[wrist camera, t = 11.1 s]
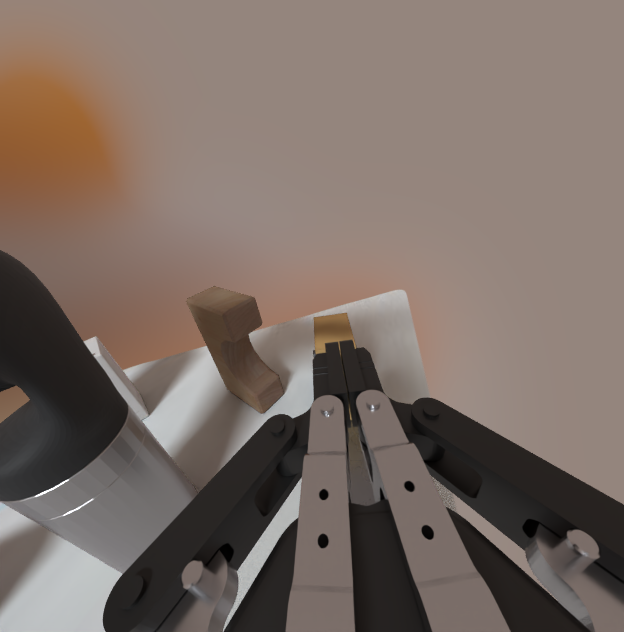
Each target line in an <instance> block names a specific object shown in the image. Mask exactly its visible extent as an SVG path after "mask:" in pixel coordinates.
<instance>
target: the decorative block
mask: <svg viewBox="0 0 624 632" xmlns="http://www.w3.org/2000/svg"><path fill="white" fill-rule="evenodd" d="M186 302H187V305H188V307H189V309H190V311H191V313H192V315H193V317H194V319H195V322H196V323H197V326H198V328H199V330H200V332H201V334H202V336H203V338H204V341H205V343H206V345H207V347H208V349H209V351H210V353H211V356H212V358H213V360H214V362H215V364H216V366H217V368H218V371H219V373H220V375H221V377H222V379H223V381H224V383H225V385H226V387H227V389H228V390H229V391H231V392H232V393H233V394H235V395H236V396H237V397H239V398H240V399H241V400H243V401H244V402H246V403H247V404H248V405H250V406H251V407H253V408H254V409H255V410H257V411H258V412H260V413H261V414H262V413H264V412H265V411H267V410H268V409H269V408H270V407H271V406H272V405H273V404H274V403H275V402H276V401H277V400H278V399H279V398H280V397H281V396H282V395H283V394H284V391H283V388H282V385H281V381H280V378H279V375H278V374H276V373H275V372H273V371H272V370H271V369H269V368H268V366H267V365H266V364H265V363H264V362H263V361H262V360H261V359H260V357H259V356H258V355H257V353H256V352H255V351H254V349H253V347H252V344H251V342H250V339H249V335H248V334H249V333H251V332H252V331H253V330H255V329H256V328H258V327H260V326H261V325H262V320H261V317H260V313H259V310H258V307H257V303H256V300H255V298H254V297H252V296H248V295H244V294H241V293H236V292H233V291H230V290H226V289H223V288H219V287H216V286H213V287H211V288H209V289H207V290H205V291H203V292H200V293H198V294H196V295H194V296H192V297H190V298H187V301H186Z"/></svg>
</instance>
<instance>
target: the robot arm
mask: <svg viewBox="0 0 624 632" xmlns="http://www.w3.org/2000/svg"><path fill="white" fill-rule="evenodd" d="M339 345H340V350H339ZM325 350H326V353H319V354H316V356H315V358H314V359H313V385H314V401H313V404H312V406H311V408H310V409H309V410H308V411H307V412H305V413H304V414H302V415H300V416H298V417H295V418H293V419H292V418H291V417H290V416H288V415H285V414H279V415H275V416H273V417H271V418H270V419H268V420H267V421H266V422H265V423H264V424H263V425H262V426H261V427H260V429H259V430H258V431H257V432H256V433H255V434H254V435H253V436H252V437H251V438H250V439H249V440H248V441H247V442H246V443H245V445H244V446H243V447H242V448H241V449H240V450H239V451H238V452H237V453H236V454H235V455H234V456H233V457H232V458H231V459H230V460H229V462H228V463H227V464H226V465H225V466H224V467H223V468H222V469H221V470H220V471H219V472H218V473H217V474H216V475H215V476H214V478H213V479H212V480H211V481H210V482H209V483H208V484H207V485H206V486H205V487H204V488H203V489H202V490H201V491H200V492H199V493H198V492H197V490H196V489H195V488H194V486H193V485H192V484H191V482H190V481H189V480H188V479H187V477H186V476H185V475H184V473H183V472H182V471H181V470H180V468H179V467H178V466H177V465H176V463H175V462H174V461H173V460H172V458H171V457H170V456H169V455H168V453H167V452H166V451H165V450H164V448H163V447H162V446H161V444H160V443H159V442H158V441H157V439H156V438H155V437H154V436H153V434H152V433H151V432H150V431H149V429H148V428H147V427H146V426H145V424H144V423H143V422H142V421H141V420H140V418H139V417H138V416H137V415H136V413H135V412H134V411H133V410H132V408H131V407H130V406H129V405H128V403H127V402H126V401H125V399H124V398H123V397H122V396H121V394H120V393H119V392H118V390H117V389H116V387H115V386H114V384H113V383H112V381H111V379H110V378H109V376H108V375H107V373H106V372H105V370H104V369H103V368H102V366H101V365H100V364H99V362H98V361H97V360H96V358H95V357H94V356H93V354H92V353H91V352H90V350H89V349H88V347H87V346H86V345H85V343H84V342H83V340H82V339H81V337H80V336H79V334H78V333H77V331H76V330H75V328H74V327H73V325H72V324H71V323H70V321H69V319H68V318H67V316H66V315H65V314H64V312H63V310H62V309H61V308H60V306H59V304H58V303H57V302H56V300H55V299H54V298H53V296H52V295H51V293H50V292H49V291H48V289H47V288H46V287H45V286H44V285H43V283H42V282H41V281H40V280H39V279H38V278H37V277H36V275H35V274H34V273H32V272H31V271H30V270H29V269H28V268H27V267H25V265H23V264H22V263H21V262H20V261H18V260H17V259H15V258H14V257H12V256H11V255H9V254H7V253H5V252H3V251H1V250H0V392H1V391H3V390H6V389H9V388H11V387H14V386H16V385H17V386H18V387H20V388H21V389H22V390H23V392H24V393H25V394H26V395H27V396H28V397H29V399H30V400H29V402H27V403H26V404H24V405H23V406H22V407H20V408H19V409H18V410H17V411H15V412H14V413H13V414H11V415H10V416H9V417H8V418H6V419H5V420H4V421H3V422H2V423H0V502H2V503H4V504H5V505H7V506H9V507H10V508H12V509H14V510H15V511H17V512H19V513H20V514H22V515H24V516H26V517H27V518H29V519H31V520H33V521H35V522H36V523H38V524H40V525H41V526H43V527H45V528H47V529H48V530H50V531H52V532H53V533H55V534H57V535H58V536H60V537H62V538H63V539H65V540H67V541H68V542H70V543H72V544H74V545H75V546H77V547H79V548H80V549H82V550H84V551H85V552H87V553H89V554H90V555H92V556H94V557H96V558H97V559H99V560H101V561H102V562H104V563H105V564H107V565H109V566H110V567H112V568H114V569H116V570H117V571H119V572H121V573H123V575H122V576H121V577H120V578H119V580H118V581H117V582H116V584H115V586H114V587H113V589H112V591H111V593H110V595H109V597H108V599H107V602H106V605H105V608H104V613H103V626H104V629H105V631H106V632H223V628H224V625H225V622H226V619H227V617H228V615H229V613H230V611H231V609H232V607H233V605H234V602H235V600H236V596H237V592H238V575H237V570H238V569H239V567H240V566H241V564H242V563H243V562H244V560H245V559H246V557H247V556H248V554H249V553H250V551H251V550H252V548H253V547H254V546H255V544H256V543H257V541H258V540H259V538H260V537H261V535H262V534H263V532H264V531H265V530H266V528H267V527H268V525H269V524H270V522H271V521H272V519H273V518H274V516H275V515H276V513H277V512H278V511H279V509H280V508H281V506H282V505H283V503H284V502H285V500H286V499H287V497H288V496H289V495H290V493H291V492H292V490H293V489H294V487H295V486H296V484H297V483H298V481H299V480H300V479H301V477H302V483H301V495H300V507H299V517H298V518H297V519H296V520H295V521H294V522H292V523H291V524H290V526H289V527H288V528H287V529H286V530H285V531H284V533H283V534H282V535H281V537H280V538H279V540H278V542H277V543H276V545H275V547H274V548H273V550H272V552H271V553H270V555H269V557H268V558H267V560H266V562H265V563H264V565H263V567H262V568H261V570H260V572H259V573H258V575H257V577H256V578H255V580H254V582H253V583H252V585H251V587H250V588H249V590H248V592H247V593H246V595H245V597H244V598H243V600H242V602H241V603H240V605H239V607H238V609H237V610H236V612H235V614H234V615H233V617H232V619H231V620H230V622H229V624H228V625H227V627H226V629H225V630H224V632H624V505H623V504H622V503H620V502H618V501H616V500H614V499H613V498H611V497H609V496H607V495H605V494H604V493H602V492H600V491H598V490H597V489H595V488H593V487H591V486H590V485H588V484H586V483H584V482H582V481H581V480H579V479H577V478H575V477H574V476H572V475H570V474H568V473H566V472H565V471H563V470H561V469H559V468H557V467H556V466H554V465H552V464H550V463H549V462H547V461H545V460H543V459H542V458H540V457H538V456H536V455H535V454H533V453H531V452H529V451H527V450H525V449H524V448H522V447H520V446H519V445H517V444H515V443H513V442H511V441H510V440H508V439H506V438H504V437H502V436H501V435H499V434H497V433H495V432H494V431H492V430H490V429H488V428H487V427H485V426H483V425H481V424H479V423H478V422H475V421H474V420H472V419H471V418H469V417H467V416H465V415H463V414H462V413H459V412H458V411H456V410H454V409H453V408H451V407H449V406H447V405H446V404H444V403H442V402H440V401H438V400H436V399H433V398H421V399H418V400H416V401H415V402H414V403H413V405H411V404H405V403H399V402H396V401H394V400H392V399H390V398H389V397H387V396H386V395H385V393H384V392H383V389H382V387H381V384H380V381H379V378H378V375H377V372H376V369H375V366H374V363H373V361H372V358H371V355H370V353H369V352H368V351H367V350H366V349H365V348H364V347H363V348H356V349H355V347H354V343H353V340H352V339H351V340H344V341H339V344H338V341H337V342H330V343H325ZM340 353H341V355H340ZM349 408H350V411H349ZM350 414H351V419H352V425H353V427H358V431H359V437H360V445H361V448H362V452H363V456H364V459H365V463H366V467H367V470H368V474H369V477H370V481H371V485H372V489H373V494H374V499H375V503H374V504H372V505H369V506H364V505H360V504H355V503H353V497H352V486H351V472H350V458H349V445H348V443H349V434H348V428H351V419H350ZM430 475H431V476H432V477H434V478H435V479H436V480H437V481H439V482H440V483H441V484H442V485H444V486H445V487H446V488H447V489H449V490H450V491H451V492H452V493H454V494H455V495H456V496H457V497H459V498H460V499H461V500H462V501H463V502H465V503H466V504H467V505H468V506H470V507H471V508H472V509H473V510H475V511H476V512H477V513H478V514H480V515H481V516H482V517H483V518H485V519H486V520H487V521H488V522H490V523H491V524H492V525H493V526H495V527H496V528H497V529H498V530H500V531H501V532H502V533H503V534H505V535H506V536H507V537H508V538H510V539H511V540H512V541H514V542H515V543H516V544H517V545H518V546H520V547H521V548H522V549H523V550H525V553H526V558H527V561H528V563H529V566H530V568H531V570H532V572H533V573H534V575H535V576H536V577H537V579H538V580H539V581H540V582H541V583H542V585H543V586H544V587H545V588H546V589H547V590H548V591H549V592H550V593H551V594H552V595H553V596H554V597H555V598H556V599H557V600H558V601H557V600H556V599H554V598H553V597H552V596H551V595H550V594H549V593H548V592H547V591H545V590H544V589H543V588H542V587H541V586H540V585H539V584H537V583H536V582H535V581H534V580H533V579H532V578H531V577H530V576H529V575H527V574H526V573H525V572H524V571H523V570H522V569H521V568H519V567H518V566H517V565H516V564H515V563H514V562H513V561H512V560H511V559H509V558H508V557H507V556H506V555H505V554H504V553H503V552H502V551H501V550H499V549H498V548H497V547H496V546H495V545H494V544H493V543H491V542H490V541H489V540H488V539H487V538H486V537H485V536H484V535H482V534H481V533H480V532H479V531H478V530H477V529H476V528H475V527H474V526H472V525H471V524H470V523H469V522H468V521H467V520H466V519H464V518H463V517H461V516H460V515H459V514H457V513H456V512H454V511H452V510H451V509H449V508H447V507H445V505H444V503H443V501H442V499H441V497H440V495H439V493H438V490H437V488H436V486H435V484H434V482H433V480H432V478H431V476H430Z"/></svg>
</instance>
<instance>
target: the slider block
mask: <svg viewBox="0 0 624 632" xmlns="http://www.w3.org/2000/svg"><path fill="white" fill-rule="evenodd" d="M314 335H315V352H316V354H319V353H326V350H325V343H330V342H337V341H338V344H339V341H344V340H351V339H352V340H353V343H354V347H355V349H356V345H355V341H354V338H353V334H352V330H351V327H350V323H349V320H348V316H347V313H342V314H335V315H328V316H321V317H314ZM339 350H340V345H339ZM340 355H341V353H340ZM349 411H350V408H349ZM350 419H351V414H350ZM351 420H352V419H351Z"/></svg>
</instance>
